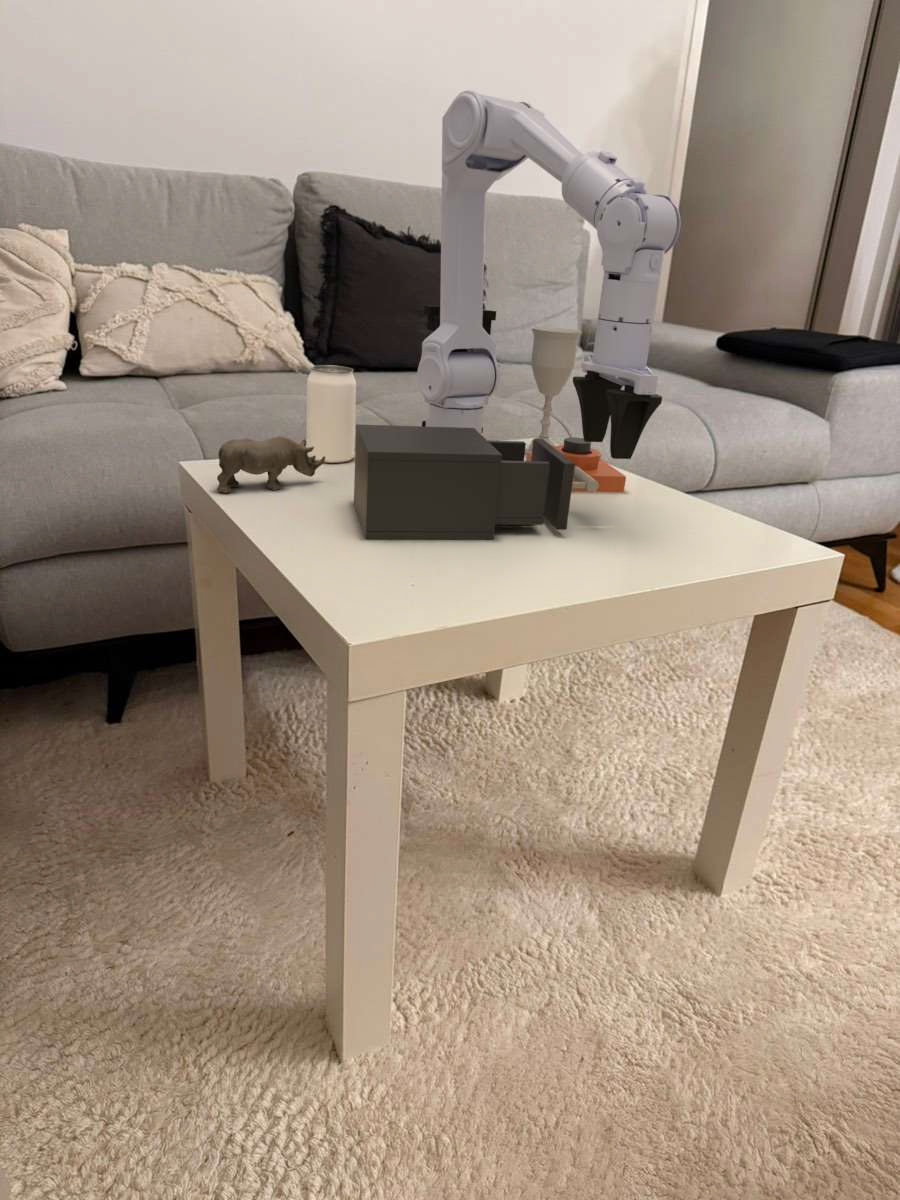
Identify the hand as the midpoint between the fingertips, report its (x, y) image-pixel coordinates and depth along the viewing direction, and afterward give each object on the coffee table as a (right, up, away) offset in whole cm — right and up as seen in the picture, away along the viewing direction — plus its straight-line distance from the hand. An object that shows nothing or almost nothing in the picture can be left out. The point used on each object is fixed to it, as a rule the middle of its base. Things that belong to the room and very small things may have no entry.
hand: (606, 449), depth 94 cm
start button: (0, +3, +20) cm, 20 cm away
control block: (-1, 0, +21) cm, 21 cm away
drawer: (-10, -7, +2) cm, 12 cm away
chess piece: (-17, +5, +31) cm, 36 cm away
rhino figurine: (-39, -3, +8) cm, 40 cm away
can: (-34, +3, +23) cm, 41 cm away
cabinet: (-21, -8, 0) cm, 22 cm away
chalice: (-3, +5, +34) cm, 35 cm away
